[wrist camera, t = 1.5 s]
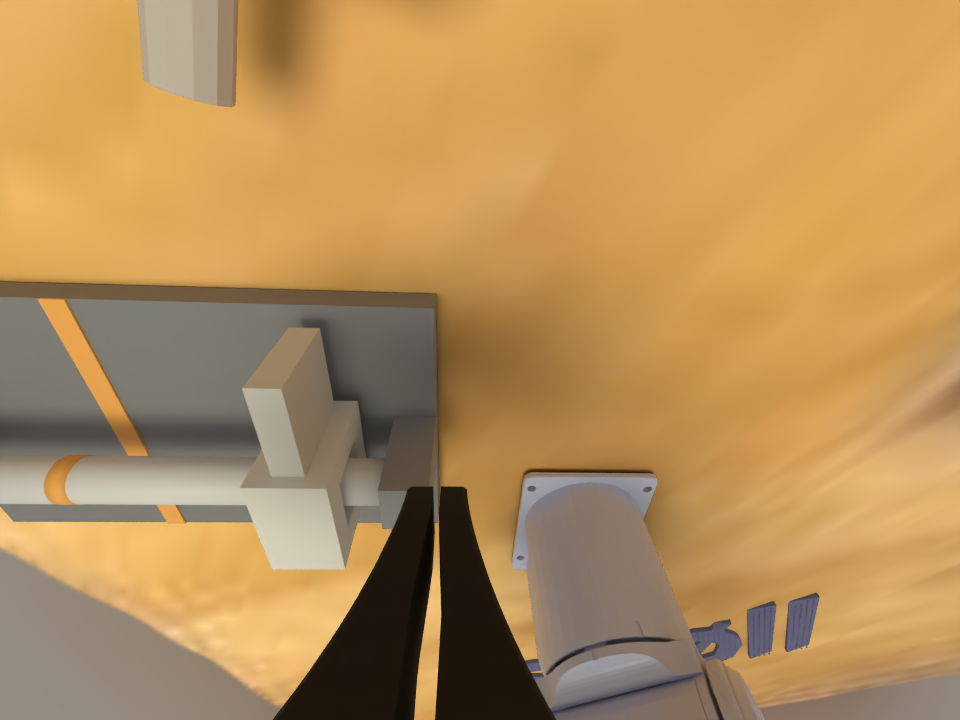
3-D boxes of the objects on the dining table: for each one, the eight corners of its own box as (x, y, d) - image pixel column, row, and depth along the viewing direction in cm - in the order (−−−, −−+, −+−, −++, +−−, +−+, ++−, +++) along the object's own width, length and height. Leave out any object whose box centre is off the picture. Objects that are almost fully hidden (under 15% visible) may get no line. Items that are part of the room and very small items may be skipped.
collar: (369, 476, 22) (345, 569, 17) (310, 476, 21) (271, 569, 17) (346, 322, 17) (305, 399, 12) (270, 320, 17) (203, 397, 12)
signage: (516, 702, 42) (484, 662, 37) (516, 694, 43) (483, 653, 38) (811, 651, 38) (820, 598, 33) (806, 643, 38) (814, 589, 33)
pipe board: (439, 501, 26) (432, 601, 21) (36, 499, 25) (-74, 603, 20) (436, 293, 18) (424, 369, 13) (-143, 277, 17) (-398, 353, 12)
